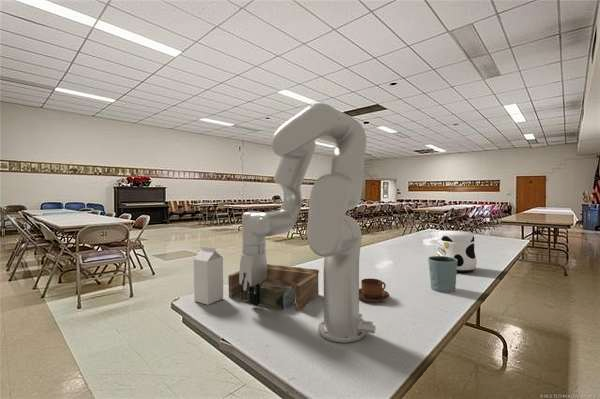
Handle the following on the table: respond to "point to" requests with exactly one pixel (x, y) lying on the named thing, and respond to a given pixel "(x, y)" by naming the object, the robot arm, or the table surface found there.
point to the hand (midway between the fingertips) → (254, 304)
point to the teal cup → (443, 273)
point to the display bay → (286, 282)
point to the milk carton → (208, 276)
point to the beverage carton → (274, 295)
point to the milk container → (458, 248)
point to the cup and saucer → (373, 290)
